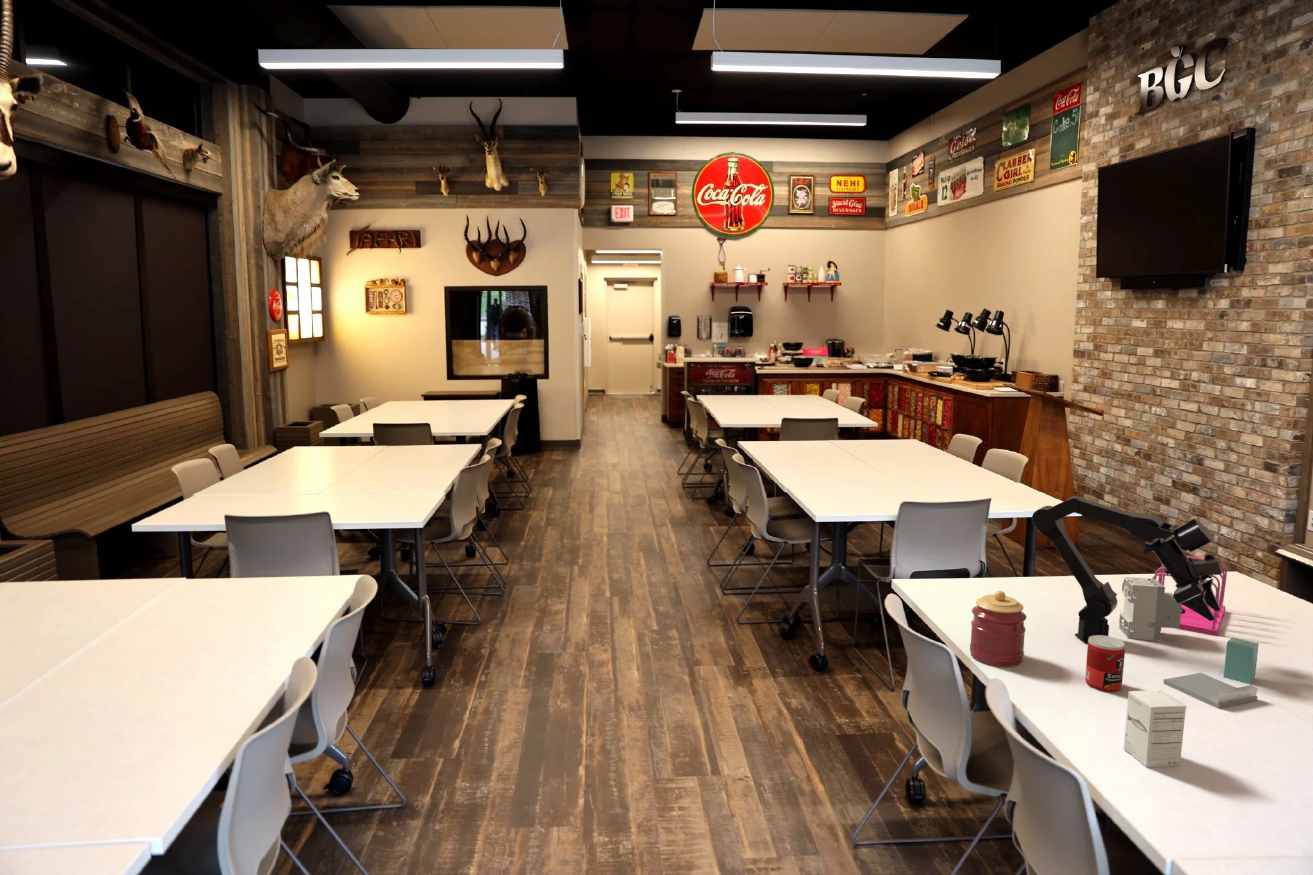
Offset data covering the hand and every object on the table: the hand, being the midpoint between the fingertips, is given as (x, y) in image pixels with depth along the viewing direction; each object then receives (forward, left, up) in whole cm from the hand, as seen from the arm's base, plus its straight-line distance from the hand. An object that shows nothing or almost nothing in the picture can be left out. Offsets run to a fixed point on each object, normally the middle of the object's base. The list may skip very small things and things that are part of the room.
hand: (1215, 615), depth 214 cm
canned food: (-32, -12, -14) cm, 37 cm away
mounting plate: (-9, -15, -13) cm, 22 cm away
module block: (+3, -7, -13) cm, 15 cm away
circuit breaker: (-3, +21, -14) cm, 25 cm away
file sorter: (+15, +36, -14) cm, 41 cm away
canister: (-52, +4, -14) cm, 54 cm away
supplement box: (-39, -46, -14) cm, 62 cm away
